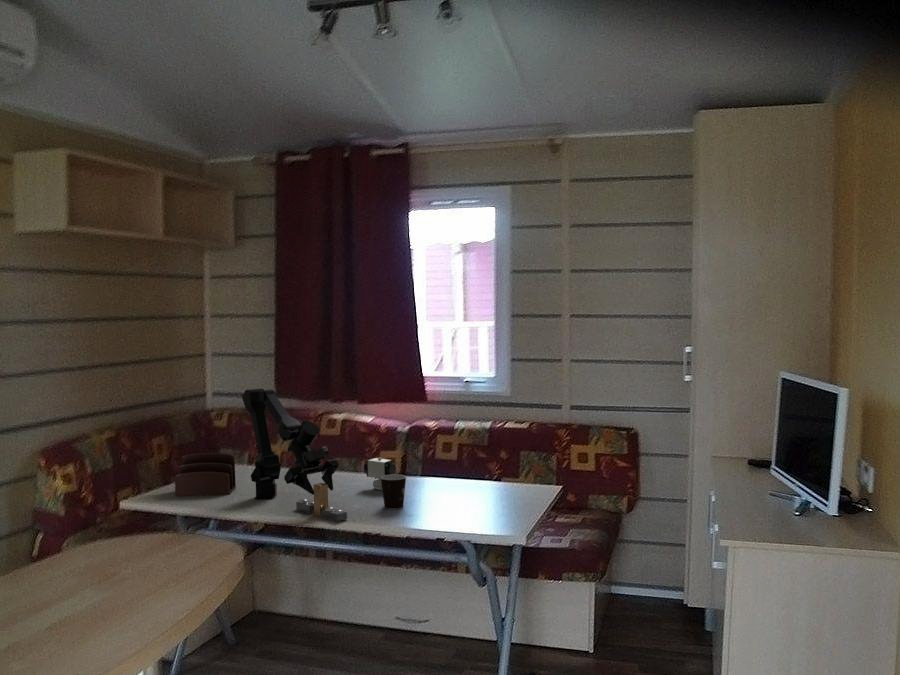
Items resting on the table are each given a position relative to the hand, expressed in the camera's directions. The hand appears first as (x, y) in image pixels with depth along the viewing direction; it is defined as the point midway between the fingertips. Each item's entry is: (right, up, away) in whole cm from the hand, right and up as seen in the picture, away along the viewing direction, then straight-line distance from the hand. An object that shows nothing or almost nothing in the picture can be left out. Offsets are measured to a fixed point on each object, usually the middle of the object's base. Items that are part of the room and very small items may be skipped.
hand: (323, 491), depth 257 cm
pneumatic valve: (+16, -6, +36) cm, 39 cm away
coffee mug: (+22, -7, +9) cm, 25 cm away
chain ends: (-1, -8, +1) cm, 8 cm away
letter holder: (-49, -7, +35) cm, 60 cm away
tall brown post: (-1, -8, +1) cm, 8 cm away
